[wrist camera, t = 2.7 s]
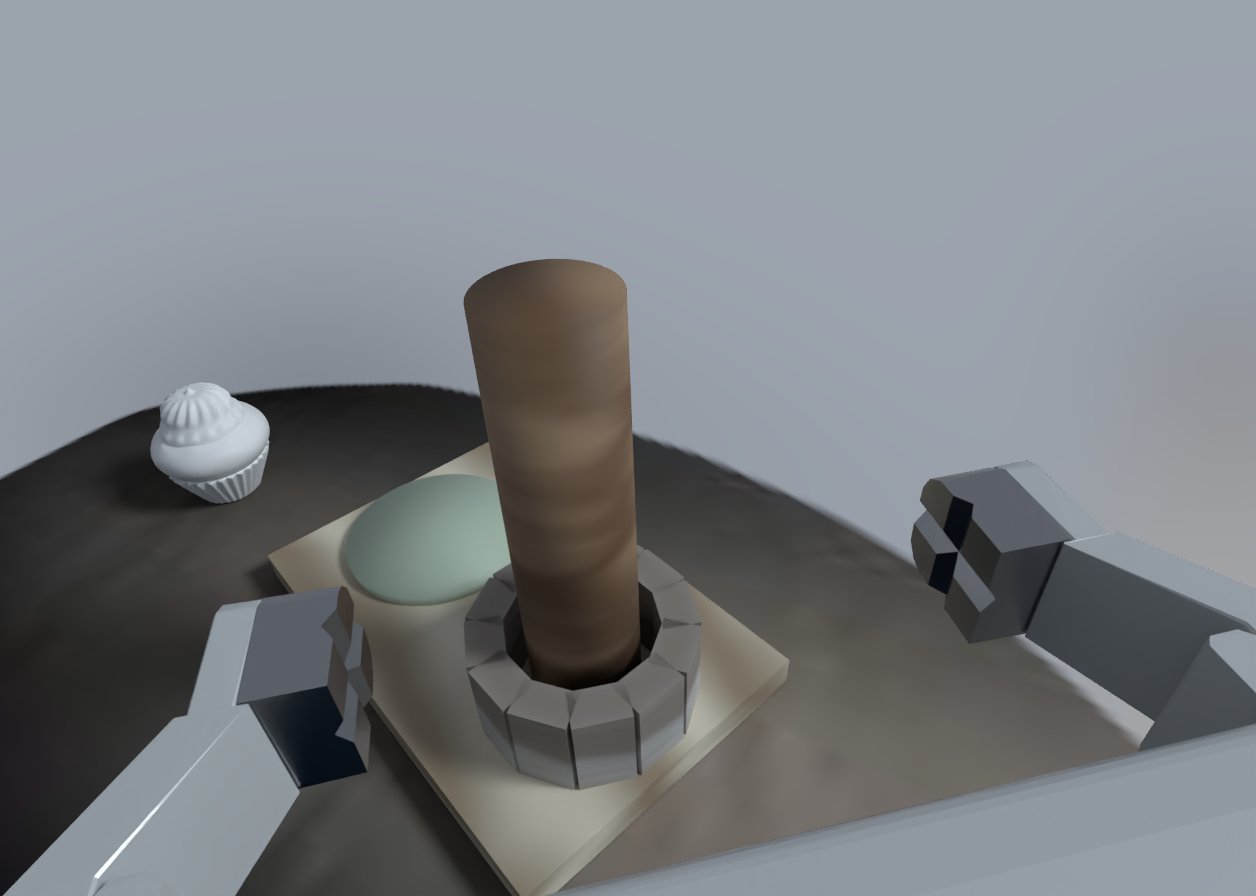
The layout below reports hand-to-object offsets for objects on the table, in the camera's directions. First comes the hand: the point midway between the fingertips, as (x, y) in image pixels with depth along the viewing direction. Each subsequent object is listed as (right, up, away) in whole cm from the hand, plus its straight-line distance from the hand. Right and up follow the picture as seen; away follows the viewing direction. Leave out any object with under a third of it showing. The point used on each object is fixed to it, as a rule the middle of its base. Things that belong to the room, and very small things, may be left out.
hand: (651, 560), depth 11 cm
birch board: (-6, -7, +26) cm, 28 cm away
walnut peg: (-2, -8, +22) cm, 23 cm away
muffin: (-24, -1, +35) cm, 43 cm away
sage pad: (-10, -3, +29) cm, 31 cm away
